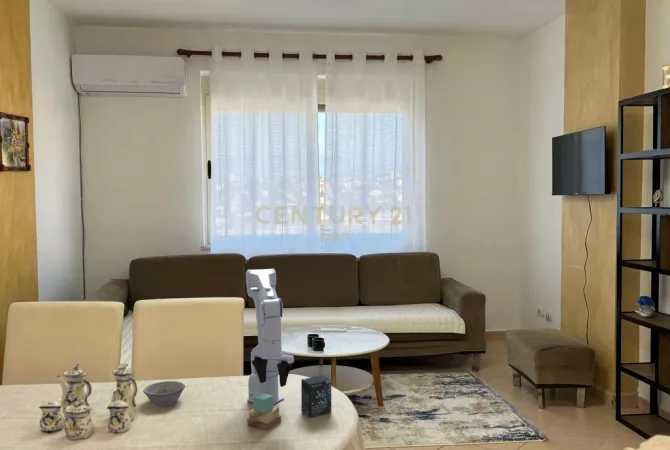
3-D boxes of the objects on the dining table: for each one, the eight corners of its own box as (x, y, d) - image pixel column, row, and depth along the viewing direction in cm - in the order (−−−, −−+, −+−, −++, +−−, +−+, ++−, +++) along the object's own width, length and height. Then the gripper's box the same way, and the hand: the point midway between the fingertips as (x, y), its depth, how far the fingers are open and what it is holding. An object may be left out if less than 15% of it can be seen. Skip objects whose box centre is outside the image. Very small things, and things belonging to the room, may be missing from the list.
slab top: (248, 419, 168) (248, 411, 168) (260, 411, 174) (260, 403, 174) (267, 423, 166) (267, 415, 165) (278, 415, 171) (278, 406, 171)
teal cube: (253, 410, 169) (253, 397, 168) (263, 406, 172) (262, 393, 172) (263, 413, 166) (263, 399, 166) (273, 408, 170) (272, 395, 169)
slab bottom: (247, 427, 169) (247, 419, 169) (262, 418, 175) (262, 410, 175) (266, 432, 165) (266, 424, 165) (280, 423, 171) (280, 415, 171)
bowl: (177, 409, 181) (176, 394, 181) (137, 409, 182) (137, 394, 182) (190, 394, 194) (190, 380, 194) (153, 393, 195) (153, 379, 195)
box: (310, 418, 174) (310, 384, 173) (301, 412, 178) (300, 379, 178) (332, 412, 178) (331, 379, 177) (322, 406, 183) (322, 374, 182)
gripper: (244, 339, 174) (245, 384, 174) (283, 344, 166) (284, 391, 167) (259, 334, 180) (260, 378, 180) (297, 339, 172) (298, 384, 173)
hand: (272, 384), depth 174 cm, fingers open, 7 cm apart
